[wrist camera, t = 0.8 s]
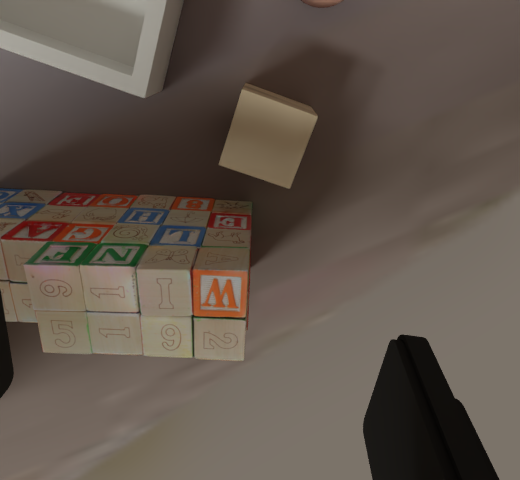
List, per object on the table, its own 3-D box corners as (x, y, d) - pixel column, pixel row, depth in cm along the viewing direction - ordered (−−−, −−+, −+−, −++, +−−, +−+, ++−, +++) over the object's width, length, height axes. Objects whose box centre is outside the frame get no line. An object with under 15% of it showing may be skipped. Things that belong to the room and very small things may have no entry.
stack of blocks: (2, 256, 37) (-113, 347, 26) (-13, 185, 34) (-149, 253, 23) (251, 268, 37) (245, 364, 26) (254, 199, 35) (249, 273, 23)
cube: (286, 169, 33) (289, 189, 29) (225, 148, 33) (218, 164, 28) (310, 106, 32) (318, 116, 27) (245, 82, 31) (241, 88, 26)
